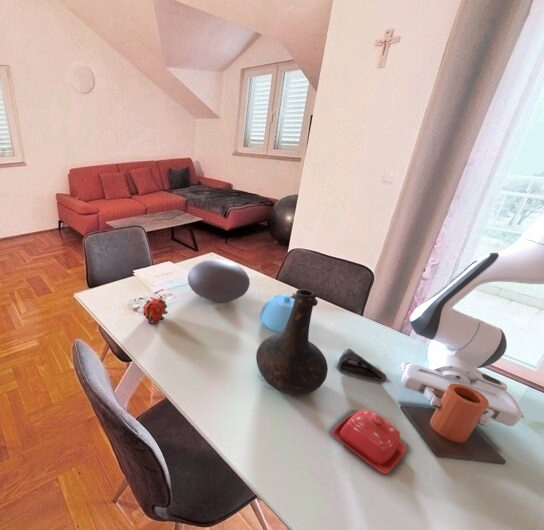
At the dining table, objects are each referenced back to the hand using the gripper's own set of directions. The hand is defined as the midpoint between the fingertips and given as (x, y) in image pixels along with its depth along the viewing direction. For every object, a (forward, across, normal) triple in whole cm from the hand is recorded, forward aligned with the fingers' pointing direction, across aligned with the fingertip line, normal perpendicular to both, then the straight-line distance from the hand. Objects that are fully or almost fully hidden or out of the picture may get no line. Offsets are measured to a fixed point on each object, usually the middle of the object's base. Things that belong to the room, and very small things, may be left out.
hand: (459, 413), depth 69 cm
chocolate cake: (-13, -19, +7) cm, 24 cm away
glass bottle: (+4, -34, +7) cm, 35 cm away
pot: (-1, 0, +6) cm, 6 cm away
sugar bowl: (-23, -43, +7) cm, 50 cm away
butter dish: (+14, -14, +7) cm, 21 cm away
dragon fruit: (+2, -82, +7) cm, 82 cm away
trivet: (-1, 0, +7) cm, 7 cm away
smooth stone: (-28, -71, +7) cm, 77 cm away
